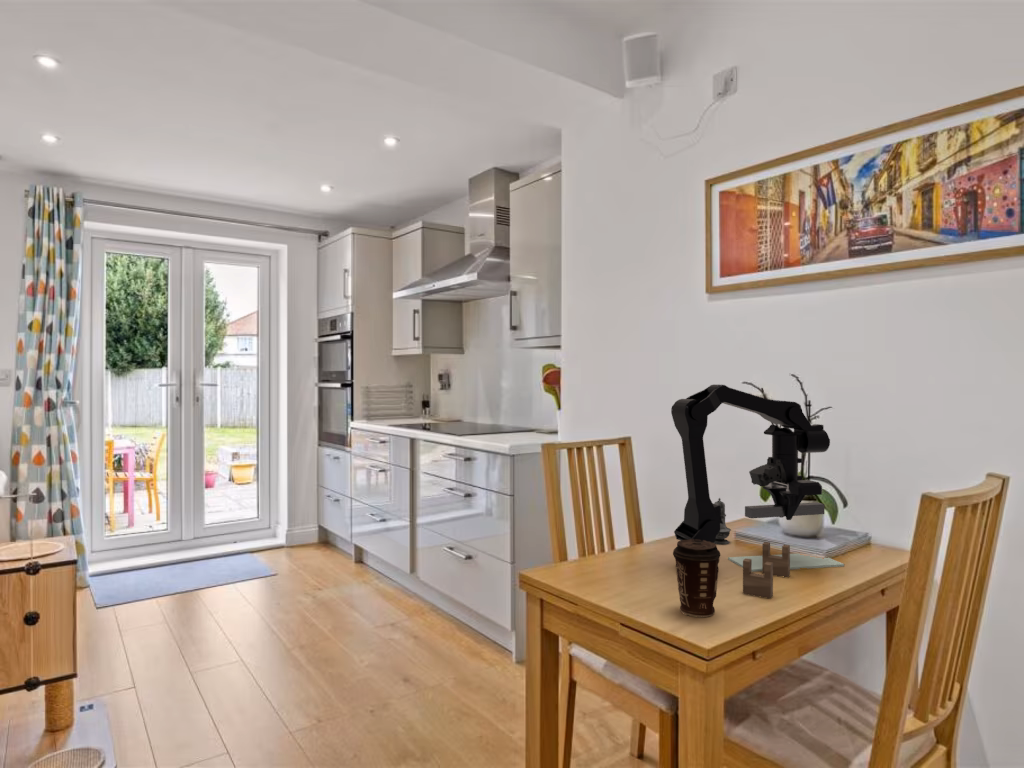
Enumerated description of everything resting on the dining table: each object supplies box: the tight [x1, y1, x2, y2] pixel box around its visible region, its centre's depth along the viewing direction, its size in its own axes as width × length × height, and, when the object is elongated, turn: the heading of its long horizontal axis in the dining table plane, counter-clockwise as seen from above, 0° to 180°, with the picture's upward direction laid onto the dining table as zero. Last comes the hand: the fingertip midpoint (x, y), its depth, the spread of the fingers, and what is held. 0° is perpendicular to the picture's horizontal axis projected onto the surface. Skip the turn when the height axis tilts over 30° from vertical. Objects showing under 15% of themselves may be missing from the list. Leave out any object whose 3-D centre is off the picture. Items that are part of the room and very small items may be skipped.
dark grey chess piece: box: [713, 497, 732, 546], centre depth 169 cm, size 6×6×12 cm
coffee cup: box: [672, 539, 721, 618], centre depth 119 cm, size 9×8×13 cm
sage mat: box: [727, 553, 845, 573], centre depth 150 cm, size 24×10×1 cm, turn 100°
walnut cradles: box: [742, 541, 791, 599], centre depth 135 cm, size 18×5×7 cm, turn 145°
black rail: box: [744, 501, 825, 519], centre depth 150 cm, size 20×2×2 cm, turn 103°
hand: (784, 518), depth 150 cm, fingers closed on black rail, 2 cm apart
